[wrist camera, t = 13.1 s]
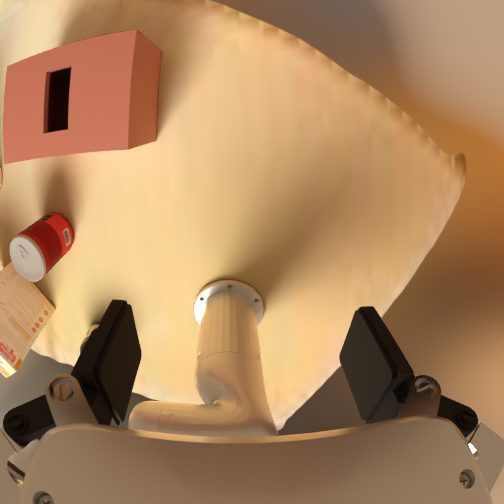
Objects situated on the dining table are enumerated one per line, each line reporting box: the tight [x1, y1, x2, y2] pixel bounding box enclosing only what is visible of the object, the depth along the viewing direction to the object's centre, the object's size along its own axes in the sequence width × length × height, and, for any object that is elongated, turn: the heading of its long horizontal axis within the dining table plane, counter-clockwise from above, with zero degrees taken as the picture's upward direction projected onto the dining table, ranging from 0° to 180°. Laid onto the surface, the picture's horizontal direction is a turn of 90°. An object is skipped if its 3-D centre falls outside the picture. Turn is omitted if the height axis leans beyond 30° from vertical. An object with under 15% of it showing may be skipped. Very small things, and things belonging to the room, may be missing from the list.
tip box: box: [3, 30, 162, 164], centre depth 28 cm, size 14×20×12 cm
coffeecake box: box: [0, 261, 56, 378], centre depth 39 cm, size 15×7×20 cm, turn 31°
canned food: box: [10, 213, 74, 282], centre depth 38 cm, size 8×8×11 cm
